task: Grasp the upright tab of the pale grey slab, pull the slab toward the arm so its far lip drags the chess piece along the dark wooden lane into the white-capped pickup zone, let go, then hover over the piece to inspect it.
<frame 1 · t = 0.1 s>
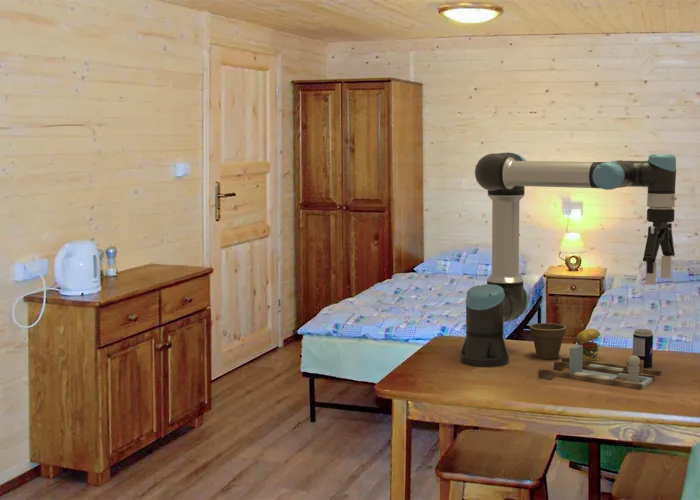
hand: (658, 281, 263), 28 cm above the table, fingers open, 13 cm apart
pale grey slab: (609, 366, 258), point 5 cm above the table, slide at 0.0 cm
hamburger: (587, 362, 282), on the table
chess piece: (632, 387, 254), resting in pale grey slab
lane rails: (598, 378, 263), on the table
walnut cube: (634, 374, 262), point 1 cm above the table, touching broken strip
flower pot: (547, 357, 289), on the table
beverage can: (642, 370, 272), on the table
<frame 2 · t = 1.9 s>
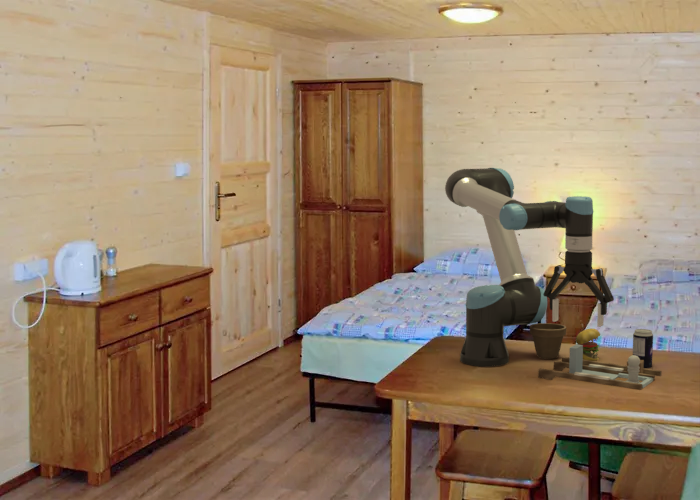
hand: (577, 323, 262), 16 cm above the table, fingers open, 13 cm apart
nothing on the table moved.
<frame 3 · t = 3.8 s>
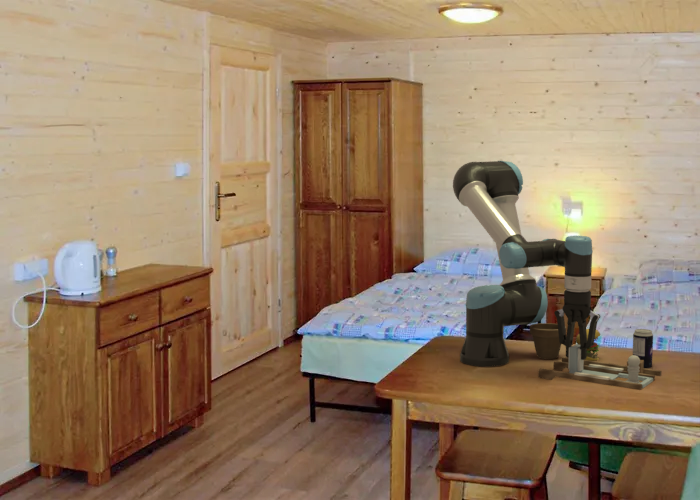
hand: (575, 369, 264), 2 cm above the table, fingers closed on pale grey slab, 2 cm apart
pale grey slab: (609, 366, 258), point 5 cm above the table, slide at 0.0 cm, touching gripper
everything else where it was.
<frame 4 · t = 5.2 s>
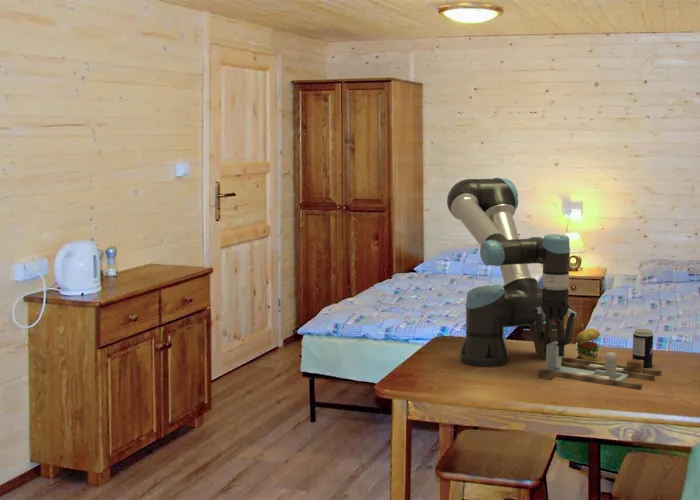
hand: (553, 366, 268), 2 cm above the table, fingers closed on pale grey slab, 2 cm apart
pale grey slab: (586, 363, 262), point 5 cm above the table, slide at 6.9 cm, touching chess piece, gripper
chess piece: (609, 383, 258), resting in pale grey slab
everything else where it was.
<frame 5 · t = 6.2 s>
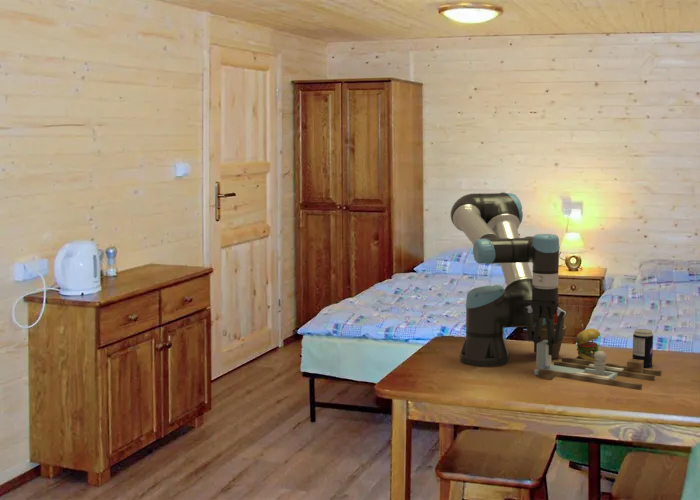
hand: (543, 364, 270), 2 cm above the table, fingers closed on pale grey slab, 2 cm apart
pale grey slab: (576, 361, 263), point 5 cm above the table, slide at 10.0 cm, touching gripper
chess piece: (599, 382, 260), resting in pale grey slab
everything else where it was.
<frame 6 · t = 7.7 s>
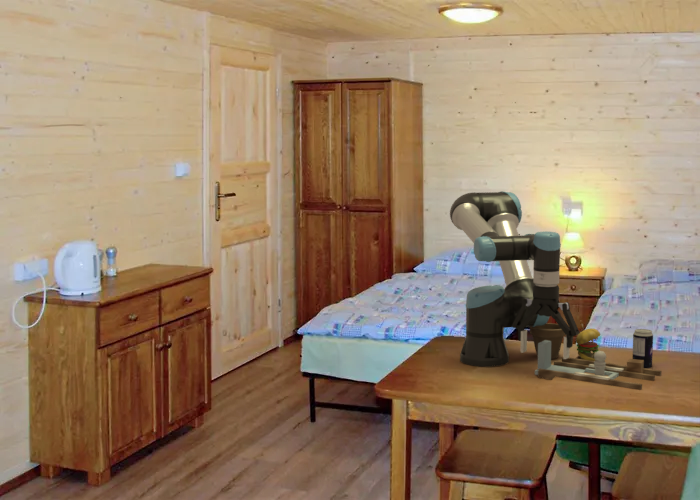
hand: (544, 355, 269), 5 cm above the table, fingers open, 13 cm apart
pale grey slab: (576, 361, 263), point 5 cm above the table, slide at 9.8 cm
everything else where it was.
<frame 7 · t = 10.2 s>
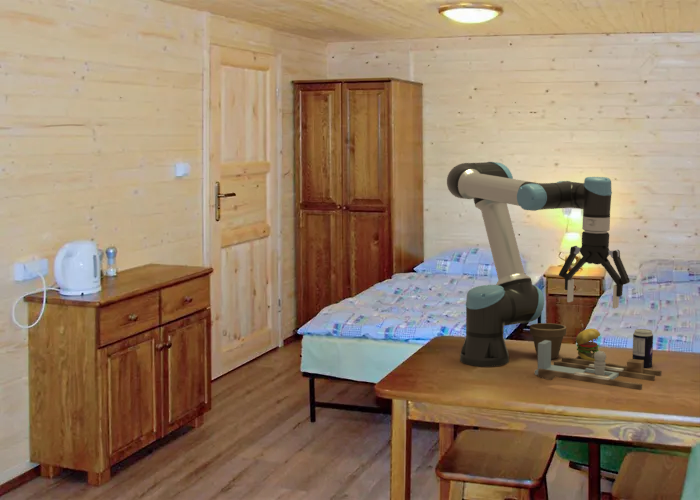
hand: (592, 304, 261), 22 cm above the table, fingers open, 13 cm apart
nothing on the table moved.
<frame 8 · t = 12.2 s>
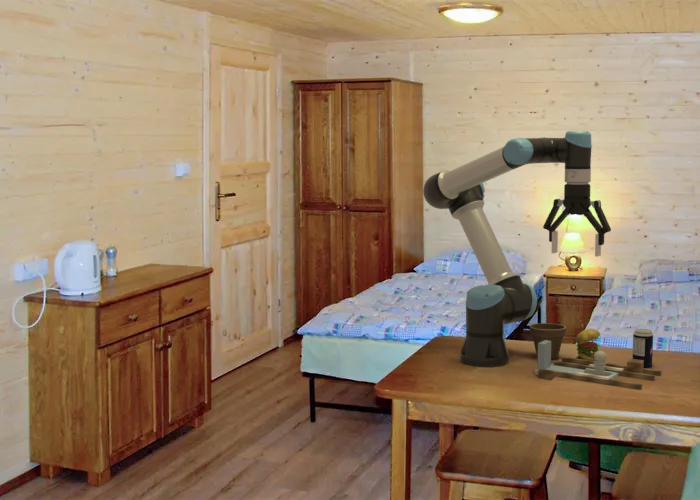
hand: (575, 254, 271), 35 cm above the table, fingers open, 13 cm apart
nothing on the table moved.
at the end: chess piece inside the target area (0.4 cm from its centre), resting in pale grey slab; pale grey slab slide at 9.8 cm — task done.
